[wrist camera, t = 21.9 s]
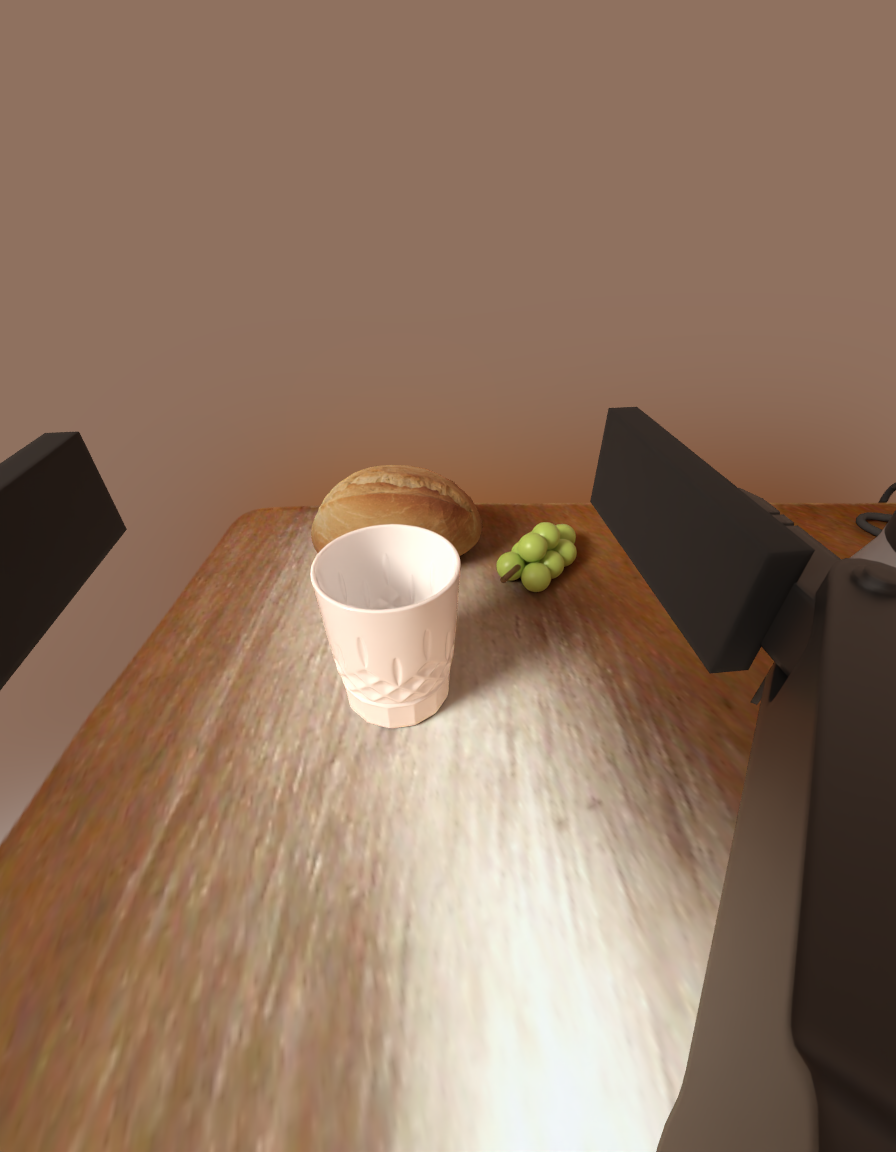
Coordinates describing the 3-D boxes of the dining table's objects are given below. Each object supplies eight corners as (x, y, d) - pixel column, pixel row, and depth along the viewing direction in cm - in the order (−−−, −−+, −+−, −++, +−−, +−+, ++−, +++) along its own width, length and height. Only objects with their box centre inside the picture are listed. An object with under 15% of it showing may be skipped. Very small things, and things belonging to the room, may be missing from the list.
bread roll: (490, 581, 40) (496, 496, 35) (308, 594, 39) (289, 507, 34) (473, 522, 48) (476, 445, 43) (320, 531, 47) (305, 453, 42)
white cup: (327, 661, 33) (299, 540, 27) (433, 631, 36) (429, 513, 30) (353, 756, 28) (326, 630, 21) (478, 713, 30) (485, 587, 24)
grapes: (543, 533, 46) (549, 494, 44) (590, 551, 44) (598, 511, 41) (475, 590, 39) (477, 548, 37) (526, 615, 37) (531, 572, 34)
